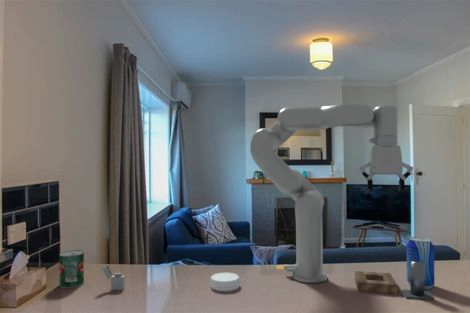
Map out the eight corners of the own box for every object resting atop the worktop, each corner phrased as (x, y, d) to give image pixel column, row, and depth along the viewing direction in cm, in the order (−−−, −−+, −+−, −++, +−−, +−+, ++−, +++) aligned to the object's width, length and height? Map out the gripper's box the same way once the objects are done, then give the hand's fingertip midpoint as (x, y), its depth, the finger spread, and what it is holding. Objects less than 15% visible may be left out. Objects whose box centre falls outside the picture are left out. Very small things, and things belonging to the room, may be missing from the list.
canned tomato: (55, 284, 126) (55, 253, 126) (78, 278, 131) (78, 248, 132) (65, 290, 120) (64, 257, 120) (88, 283, 126) (88, 252, 126)
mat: (406, 298, 112) (406, 296, 112) (402, 291, 118) (402, 289, 118) (434, 300, 110) (434, 298, 110) (428, 293, 116) (428, 291, 116)
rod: (412, 295, 112) (412, 263, 113) (408, 290, 116) (409, 259, 116) (426, 296, 112) (426, 264, 112) (422, 292, 116) (422, 260, 116)
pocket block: (358, 291, 118) (358, 282, 118) (354, 279, 130) (354, 270, 130) (397, 294, 115) (397, 284, 115) (390, 281, 127) (390, 273, 127)
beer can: (438, 291, 118) (437, 242, 118) (410, 289, 120) (410, 241, 120) (429, 282, 126) (429, 236, 126) (404, 280, 128) (403, 236, 128)
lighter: (124, 288, 122) (124, 264, 122) (123, 290, 120) (123, 266, 120) (104, 288, 122) (104, 264, 122) (102, 289, 120) (102, 265, 120)
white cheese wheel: (245, 288, 122) (245, 278, 122) (219, 294, 116) (219, 283, 116) (230, 280, 130) (230, 270, 130) (205, 285, 125) (205, 275, 125)
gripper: (360, 141, 122) (360, 192, 122) (415, 140, 118) (415, 192, 118) (357, 142, 129) (358, 190, 129) (409, 141, 125) (410, 190, 125)
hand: (385, 191), depth 124 cm, fingers open, 9 cm apart
